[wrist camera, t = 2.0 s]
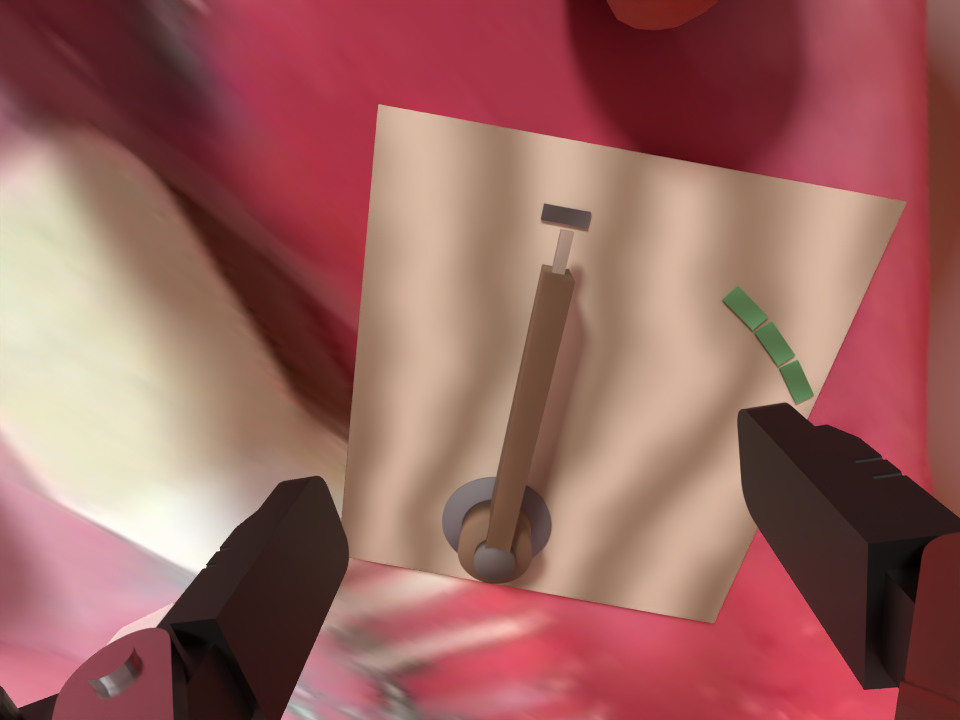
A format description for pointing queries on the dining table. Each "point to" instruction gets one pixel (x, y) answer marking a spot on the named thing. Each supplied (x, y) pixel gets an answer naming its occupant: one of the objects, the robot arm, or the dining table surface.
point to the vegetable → (658, 12)
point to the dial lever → (520, 437)
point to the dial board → (587, 350)
